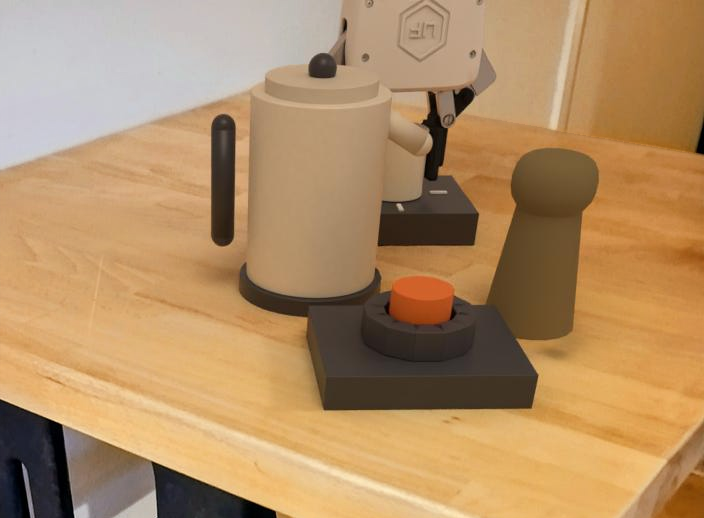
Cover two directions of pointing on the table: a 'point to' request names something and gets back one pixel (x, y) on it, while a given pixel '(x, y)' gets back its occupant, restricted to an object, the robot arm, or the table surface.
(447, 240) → the panel
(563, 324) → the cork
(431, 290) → the power button
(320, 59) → the kettle
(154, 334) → the table surface
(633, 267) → the table surface
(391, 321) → the switch block
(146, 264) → the table surface
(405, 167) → the knob
